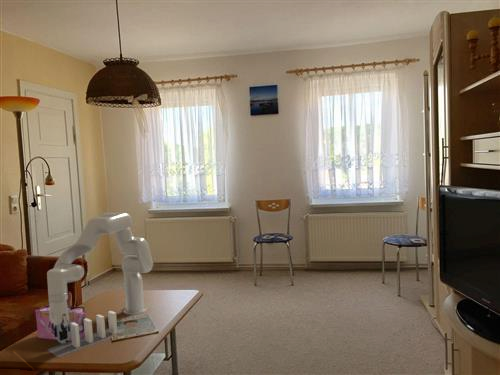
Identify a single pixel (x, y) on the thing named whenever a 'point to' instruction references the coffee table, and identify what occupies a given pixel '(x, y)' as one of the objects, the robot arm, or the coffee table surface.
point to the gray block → (58, 334)
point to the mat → (69, 348)
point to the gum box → (47, 327)
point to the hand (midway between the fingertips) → (61, 337)
